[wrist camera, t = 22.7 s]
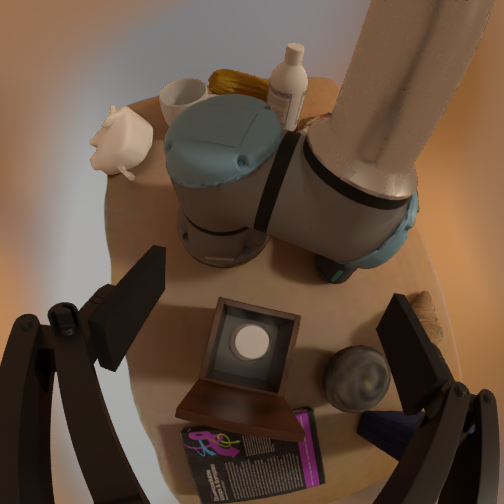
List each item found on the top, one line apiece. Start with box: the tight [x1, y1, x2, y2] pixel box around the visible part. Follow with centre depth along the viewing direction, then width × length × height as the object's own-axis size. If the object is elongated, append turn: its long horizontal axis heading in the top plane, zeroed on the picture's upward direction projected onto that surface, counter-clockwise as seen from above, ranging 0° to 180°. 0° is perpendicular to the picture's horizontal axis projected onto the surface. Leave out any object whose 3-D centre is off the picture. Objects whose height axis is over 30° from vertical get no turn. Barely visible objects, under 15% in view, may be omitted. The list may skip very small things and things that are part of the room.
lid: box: [175, 379, 306, 442], centre depth 21 cm, size 11×9×1 cm
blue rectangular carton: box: [357, 411, 475, 461], centre depth 26 cm, size 14×5×20 cm, turn 77°
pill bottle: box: [229, 322, 271, 363], centre depth 35 cm, size 5×5×9 cm
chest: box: [199, 297, 301, 397], centre depth 34 cm, size 10×9×11 cm
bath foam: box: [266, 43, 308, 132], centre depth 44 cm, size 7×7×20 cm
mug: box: [159, 78, 218, 127], centre depth 47 cm, size 13×9×10 cm
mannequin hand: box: [90, 105, 153, 181], centre depth 44 cm, size 12×18×12 cm
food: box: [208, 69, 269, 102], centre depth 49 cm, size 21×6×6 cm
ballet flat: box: [315, 254, 358, 284], centre depth 43 cm, size 8×24×8 cm, turn 165°
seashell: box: [411, 291, 443, 345], centre depth 39 cm, size 14×8×8 cm
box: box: [179, 407, 326, 504], centre depth 32 cm, size 14×4×20 cm
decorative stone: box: [322, 345, 390, 413], centre depth 34 cm, size 10×10×10 cm
